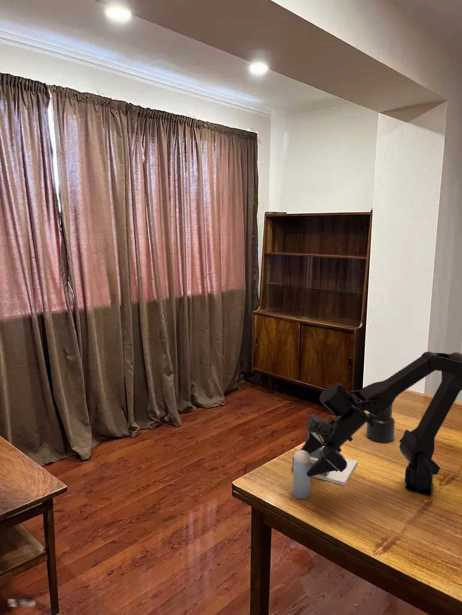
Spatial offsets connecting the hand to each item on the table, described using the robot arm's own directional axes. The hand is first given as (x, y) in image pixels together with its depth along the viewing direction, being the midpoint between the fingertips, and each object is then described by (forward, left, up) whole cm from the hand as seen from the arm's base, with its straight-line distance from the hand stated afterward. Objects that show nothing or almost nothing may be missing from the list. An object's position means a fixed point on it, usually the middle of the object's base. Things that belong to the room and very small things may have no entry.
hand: (303, 465), depth 117 cm
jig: (-1, -16, -8) cm, 18 cm away
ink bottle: (-11, -44, -8) cm, 46 cm away
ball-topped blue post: (0, 0, -8) cm, 8 cm away
